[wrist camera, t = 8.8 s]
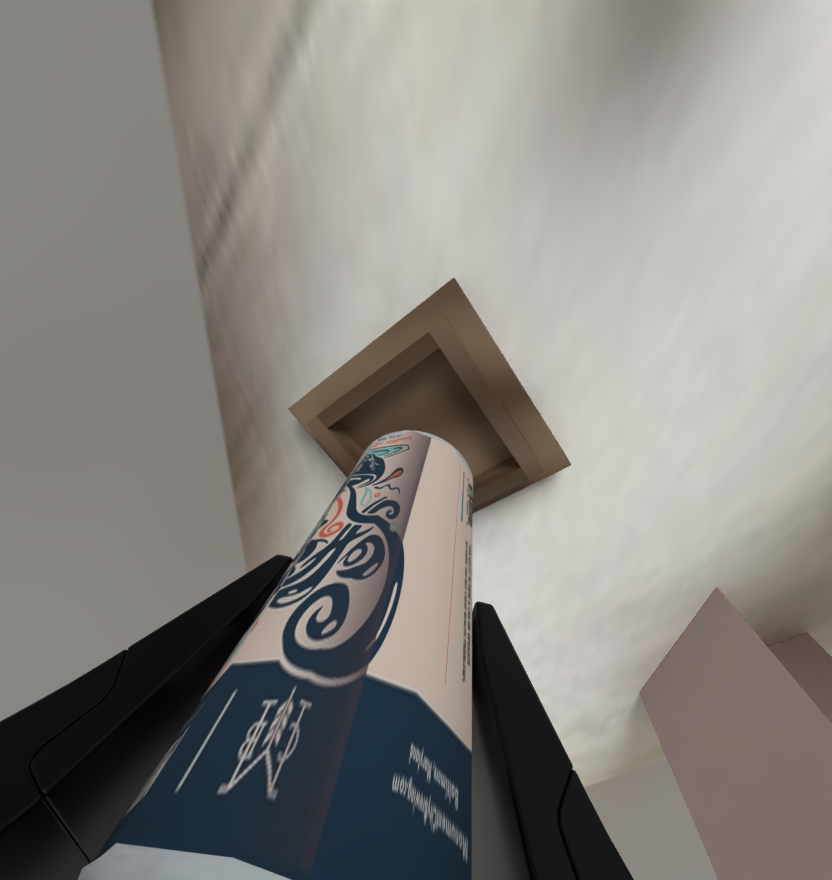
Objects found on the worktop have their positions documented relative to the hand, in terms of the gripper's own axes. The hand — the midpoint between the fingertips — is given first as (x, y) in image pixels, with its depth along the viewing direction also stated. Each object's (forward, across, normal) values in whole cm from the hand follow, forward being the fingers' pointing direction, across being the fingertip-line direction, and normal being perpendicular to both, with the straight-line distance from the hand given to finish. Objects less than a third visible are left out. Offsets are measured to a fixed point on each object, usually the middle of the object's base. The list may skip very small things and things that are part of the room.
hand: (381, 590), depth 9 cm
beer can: (+6, 0, 0) cm, 6 cm away
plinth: (+12, 0, 0) cm, 12 cm away
